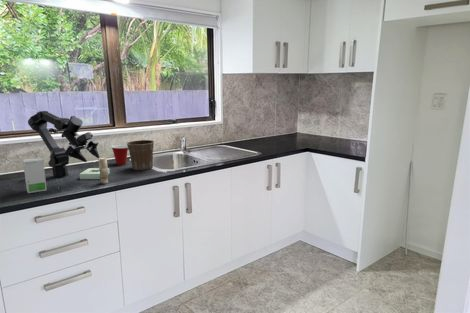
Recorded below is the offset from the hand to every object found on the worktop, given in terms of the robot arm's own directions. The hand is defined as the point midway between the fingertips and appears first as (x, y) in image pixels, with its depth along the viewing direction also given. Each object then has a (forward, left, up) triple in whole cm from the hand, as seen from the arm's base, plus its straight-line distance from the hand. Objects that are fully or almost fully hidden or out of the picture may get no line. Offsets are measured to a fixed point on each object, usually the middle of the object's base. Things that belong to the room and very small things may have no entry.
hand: (92, 159), depth 171 cm
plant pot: (+18, +28, -12) cm, 35 cm away
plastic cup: (+2, +39, -12) cm, 41 cm away
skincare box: (-23, -13, -12) cm, 29 cm away
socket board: (-4, +11, -12) cm, 17 cm away
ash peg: (+6, -2, -12) cm, 14 cm away
